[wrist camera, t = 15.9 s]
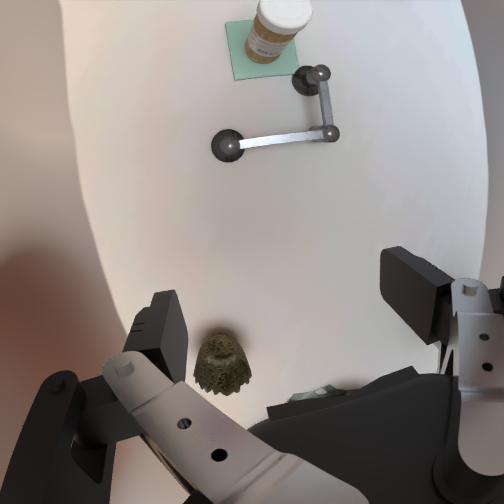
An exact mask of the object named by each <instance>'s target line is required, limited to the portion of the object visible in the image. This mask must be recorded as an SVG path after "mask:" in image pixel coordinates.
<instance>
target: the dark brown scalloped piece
mask: <svg viewBox="0 0 504 504" xmlns="http://www.w3.org/2000/svg"><path fill="white" fill-rule="evenodd" d="M193 376H194V377H195V382H196V383H198V382H199V385H200V387H201V389H203V388H204V389H205V391H206V392H207V393H208V392H210V391H211V390H213V392H214V395H217V394H218V393H219V392H221V393H222V394H223V395H226V396H228V395H230V394H231V393H233V392H236V393H238V392H239V391H240V386H241V385H244V383H246V384H248V383H249V378H251V376H252V374H251V370H250V366H249V364H248V361H247V358H246V356H245V353H244V351H243V349H242V347H241V346H240V344H239V343H238V342H237V341H235V340H234V339H232V338H230V337H229V336H228V335H226V334H222V333H219V334H215V335H213V336H212V337H211V338H210V339H208V340H207V341H206V342H205V343H204V344H203V345H202V346H201V348H200V350H199V353H198V356H197V361H196V365H195V370H194V374H193Z"/></svg>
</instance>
